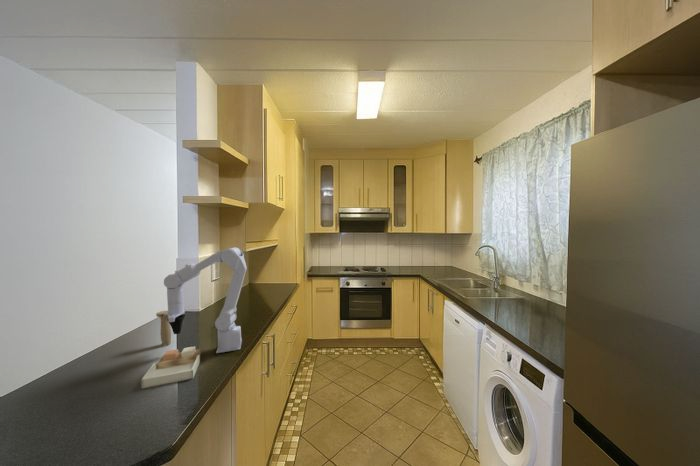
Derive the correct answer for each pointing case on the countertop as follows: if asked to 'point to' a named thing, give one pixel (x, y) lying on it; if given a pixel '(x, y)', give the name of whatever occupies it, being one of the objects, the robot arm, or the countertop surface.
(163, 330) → the handle
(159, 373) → the tray
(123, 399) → the countertop surface
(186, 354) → the cream tile
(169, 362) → the oak board
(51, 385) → the countertop surface
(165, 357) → the terracotta tile
